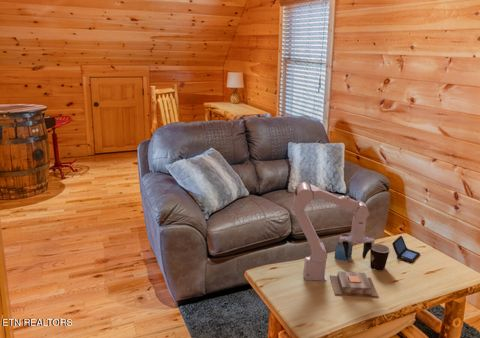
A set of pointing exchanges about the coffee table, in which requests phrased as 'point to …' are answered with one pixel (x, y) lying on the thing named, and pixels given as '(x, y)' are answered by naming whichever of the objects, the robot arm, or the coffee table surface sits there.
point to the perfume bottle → (341, 253)
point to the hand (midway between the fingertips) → (354, 257)
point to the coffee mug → (378, 256)
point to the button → (353, 279)
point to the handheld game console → (404, 251)
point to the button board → (338, 292)
